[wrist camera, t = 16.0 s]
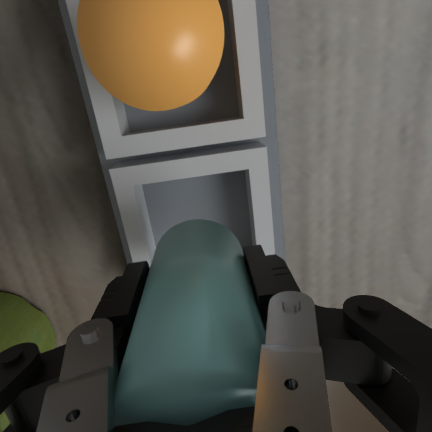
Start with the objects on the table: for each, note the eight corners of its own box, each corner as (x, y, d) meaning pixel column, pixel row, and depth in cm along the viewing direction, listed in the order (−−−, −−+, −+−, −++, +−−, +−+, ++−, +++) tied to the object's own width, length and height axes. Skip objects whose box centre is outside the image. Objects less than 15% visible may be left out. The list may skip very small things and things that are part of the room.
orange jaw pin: (126, 26, 16) (57, -43, 8) (207, 13, 16) (213, -67, 8) (144, 111, 17) (99, 120, 9) (218, 100, 17) (232, 100, 9)
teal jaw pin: (145, 226, 14) (78, 383, 6) (238, 213, 14) (286, 353, 6) (163, 304, 15) (127, 510, 7) (247, 292, 15) (295, 486, 7)
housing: (60, -14, 16) (30, -39, 13) (260, -43, 16) (274, -74, 13) (136, 280, 22) (127, 308, 19) (281, 260, 22) (294, 284, 19)
